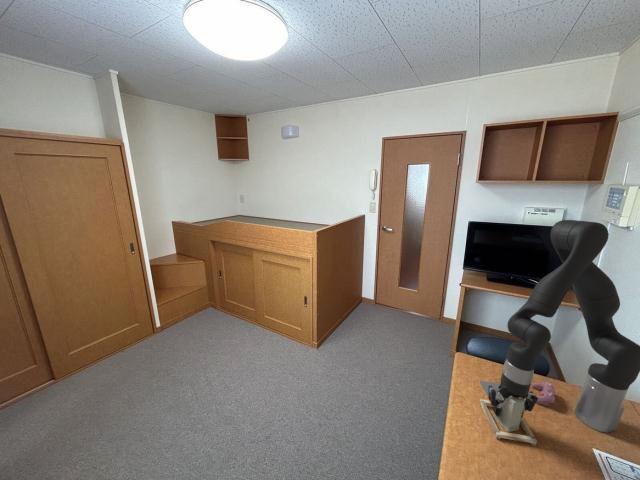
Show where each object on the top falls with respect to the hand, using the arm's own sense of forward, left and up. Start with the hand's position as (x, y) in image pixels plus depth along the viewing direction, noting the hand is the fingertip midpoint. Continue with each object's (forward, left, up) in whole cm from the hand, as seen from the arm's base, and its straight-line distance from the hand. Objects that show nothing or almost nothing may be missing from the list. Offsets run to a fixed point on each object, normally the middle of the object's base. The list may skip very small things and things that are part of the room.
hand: (506, 415), depth 88 cm
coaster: (-4, -13, -3) cm, 14 cm away
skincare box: (0, 0, -3) cm, 3 cm away
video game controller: (-19, -14, -3) cm, 24 cm away
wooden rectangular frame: (0, 0, -3) cm, 3 cm away
